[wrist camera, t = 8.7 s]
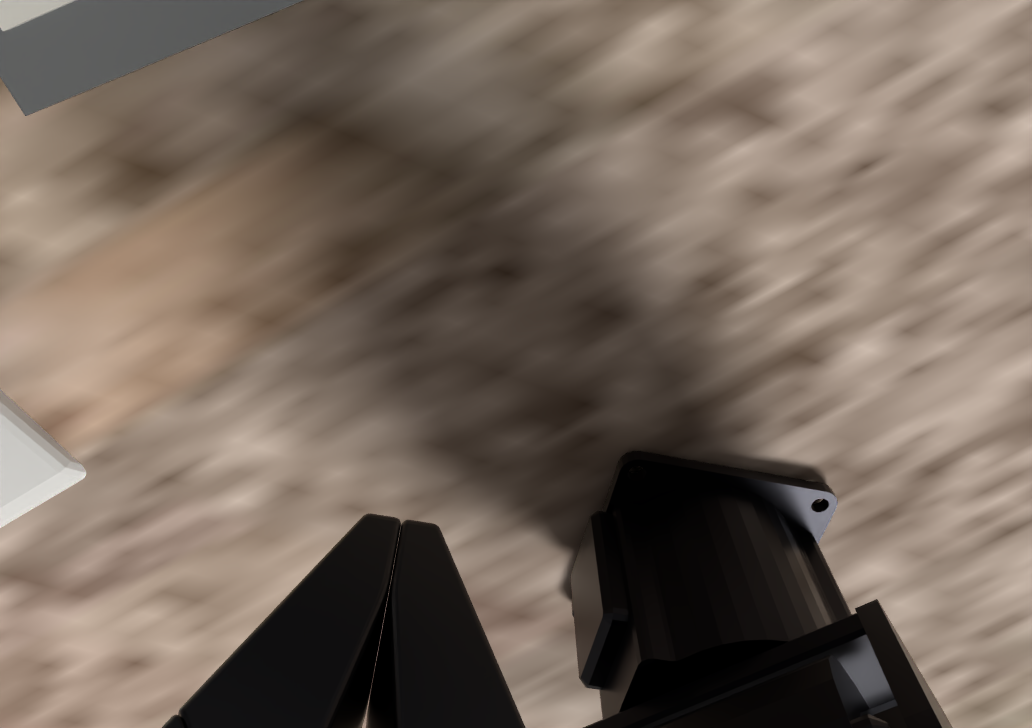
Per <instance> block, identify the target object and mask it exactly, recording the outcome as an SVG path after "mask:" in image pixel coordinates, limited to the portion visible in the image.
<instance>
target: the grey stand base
mask: <svg viewBox="0 0 1032 728" xmlns="http://www.w3.org/2000/svg"><path fill="white" fill-rule="evenodd" d="M301 1H304V0H0V77H1V79H2V80H3V82H4V84H5V85H6V87H7V88H8V90H9V91H10V93H11V94H12V96H13V98H14V99H15V101H16V102H17V104H18V105H19V107H20V108H21V110H22V112H23V113H24V115H25V116H27V115H30V114H32V113H34V112H37V111H39V110H42V109H44V108H47V107H49V106H52V105H54V104H56V103H59V102H61V101H64V100H66V99H69V98H71V97H73V96H76V95H78V94H81V93H83V92H85V91H88V90H90V89H93V88H95V87H97V86H100V85H102V84H105V83H107V82H109V81H112V80H114V79H117V78H119V77H121V76H124V75H126V74H129V73H131V72H133V71H136V70H138V69H141V68H143V67H145V66H148V65H150V64H153V63H155V62H157V61H160V60H162V59H165V58H167V57H169V56H172V55H174V54H177V53H179V52H181V51H184V50H186V49H189V48H191V47H193V46H196V45H198V44H201V43H203V42H205V41H208V40H210V39H213V38H215V37H217V36H220V35H222V34H225V33H227V32H229V31H232V30H234V29H237V28H239V27H241V26H244V25H246V24H249V23H251V22H253V21H256V20H258V19H261V18H263V17H265V16H268V15H270V14H273V13H275V12H277V11H280V10H282V9H285V8H287V7H289V6H292V5H294V4H297V3H299V2H301Z"/></svg>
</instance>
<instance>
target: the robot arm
mask: <svg viewBox="0 0 1032 728" xmlns="http://www.w3.org/2000/svg"><path fill="white" fill-rule="evenodd" d="M638 466H640V467H642V468H643V469H642V470H641V471H639V472H635V473H632V472H630V471H629V470H630V469H631V468H633V467H638ZM823 498H824V499H823ZM817 499H823V500H822V501H821V502H819V503H816V504H812V503H813V502H814V501H815V500H817ZM837 504H838V502H837V498H836V496H835V495H834V493H833V491H832V489H831V488H830V487H829V486H828V485H825V484H823V483H817V482H812V481H806V480H800V479H794V478H789V477H783V476H777V475H772V474H766V473H760V472H755V471H749V470H743V469H738V468H732V467H726V466H721V465H715V464H709V463H704V462H698V461H692V460H686V459H681V458H675V457H669V456H664V455H658V454H652V453H647V452H641V451H632V452H629V453H626V454H625V455H624V456H622V457H621V459H620V460H619V462H618V465H617V468H616V471H615V474H614V477H613V480H612V483H611V486H610V489H609V492H608V495H607V498H606V501H605V504H604V507H603V510H602V511H597V512H595V513H594V514H593V515H592V516H590V518H589V521H588V524H587V527H586V530H585V533H584V536H583V539H582V542H581V545H580V548H579V552H578V555H577V558H576V561H575V564H574V567H573V570H572V573H571V588H572V614H573V617H574V623H575V634H576V646H577V657H578V669H579V678H580V680H581V681H582V683H583V684H584V686H585V687H586V688H592V689H599V690H600V699H601V708H602V717H603V719H602V720H600V721H598V722H595V723H593V724H591V725H588V726H586V727H583V728H952V726H951V724H950V722H949V720H948V719H947V717H946V715H945V713H944V711H943V710H942V708H941V706H940V705H939V703H938V701H937V700H936V698H935V696H934V694H933V693H932V691H931V689H930V688H929V686H928V684H927V683H926V681H925V679H924V678H923V676H922V674H921V672H920V671H919V669H918V667H917V666H916V664H915V662H914V661H913V659H912V657H911V655H910V654H909V652H908V650H907V649H906V647H905V645H904V644H903V642H902V640H901V639H900V637H899V635H898V633H897V632H896V630H895V628H894V627H893V625H892V623H891V622H890V620H889V618H888V617H887V615H886V613H885V611H884V610H883V608H882V606H881V605H880V603H879V601H878V600H877V599H876V600H874V601H872V602H869V603H867V604H865V605H862V606H860V607H857V608H855V610H856V612H857V613H855V614H853V615H852V614H851V612H850V610H849V608H848V606H847V603H846V601H845V599H844V597H843V595H842V593H841V591H840V589H839V587H838V585H837V583H836V581H835V579H834V577H833V575H832V573H831V570H830V568H829V566H828V564H827V562H826V560H825V558H824V556H823V554H822V552H821V550H820V548H819V546H818V543H819V541H820V539H821V537H822V535H823V533H824V531H825V530H826V528H827V526H828V524H829V522H830V520H831V518H832V516H833V514H834V512H835V510H836V508H837ZM400 527H401V530H400ZM399 533H400V535H399ZM398 538H399V541H398ZM397 544H398V546H397ZM396 549H397V552H396ZM395 555H396V557H395ZM394 560H395V562H394ZM393 565H394V568H393ZM392 571H393V573H392ZM391 576H392V579H391ZM390 582H391V584H390ZM389 587H390V590H389ZM388 593H389V595H388ZM387 598H388V601H387ZM386 604H387V606H386ZM385 609H386V611H385ZM384 614H385V617H384ZM383 620H384V622H383ZM382 625H383V628H382ZM381 631H382V633H381ZM380 636H381V639H380ZM379 642H380V644H379ZM378 647H379V650H378ZM377 652H378V655H377ZM376 658H377V661H376ZM375 663H376V666H375ZM374 669H375V671H374ZM373 674H374V677H373ZM372 680H373V682H372ZM371 685H372V688H371ZM370 691H371V693H370ZM369 696H370V700H369ZM368 700H369V706H368V713H367V723H366V728H525V726H524V723H523V721H522V719H521V716H520V714H519V712H518V709H517V707H516V705H515V702H514V700H513V698H512V695H511V693H510V691H509V688H508V686H507V684H506V681H505V679H504V677H503V674H502V672H501V670H500V667H499V665H498V663H497V660H496V658H495V656H494V653H493V651H492V649H491V647H490V644H489V642H488V640H487V637H486V635H485V633H484V630H483V628H482V626H481V623H480V621H479V619H478V616H477V614H476V612H475V609H474V607H473V605H472V602H471V600H470V598H469V595H468V593H467V591H466V588H465V586H464V584H463V581H462V579H461V577H460V574H459V572H458V570H457V567H456V565H455V563H454V560H453V558H452V556H451V553H450V551H449V549H448V546H447V544H446V542H445V539H444V537H443V535H442V532H441V530H440V528H439V527H438V526H437V525H435V524H432V523H426V522H420V521H414V520H405V521H404V522H403V523H402V525H401V522H400V520H399V519H398V518H395V517H389V516H383V515H376V514H366V515H364V516H363V517H362V518H361V519H360V520H359V521H358V522H357V523H356V524H355V525H354V526H353V527H352V528H351V529H350V530H349V531H348V533H347V534H346V535H345V536H344V537H343V538H342V539H341V540H340V541H339V542H338V543H337V544H336V545H335V546H334V547H333V548H332V549H331V550H330V551H329V553H328V554H327V555H326V556H325V557H324V558H323V559H322V560H321V561H320V562H319V563H318V564H317V565H316V566H315V567H314V568H313V569H312V570H311V571H310V573H309V574H308V575H307V576H306V577H305V578H304V579H303V580H302V581H301V582H300V583H299V584H298V585H297V586H296V587H295V588H294V589H293V590H292V591H291V593H290V594H289V595H288V596H287V597H286V598H285V599H284V600H283V601H282V602H281V603H280V604H279V605H278V606H277V607H276V608H275V609H274V610H273V611H272V613H271V614H270V615H269V616H268V617H267V618H266V619H265V620H264V621H263V622H262V623H261V624H260V625H259V626H258V627H257V628H256V629H255V630H254V631H253V633H252V634H251V635H250V636H249V637H248V638H247V639H246V640H245V641H244V642H243V643H242V644H241V645H240V646H239V647H238V648H237V649H236V650H235V651H234V652H233V654H232V655H231V656H230V657H229V658H228V659H227V660H226V661H225V662H224V663H223V664H222V665H221V666H220V667H219V668H218V669H217V670H216V671H215V672H214V674H213V675H212V676H211V677H210V678H209V679H208V680H207V681H206V682H205V683H204V684H203V685H202V686H201V687H200V688H199V689H198V690H197V691H196V692H195V694H194V695H193V696H192V697H191V698H190V699H189V700H188V701H187V702H186V703H185V704H184V705H183V706H182V707H181V708H180V710H179V715H174V716H172V717H171V718H170V719H169V720H168V721H167V722H166V724H165V725H164V726H163V727H162V728H362V725H363V721H364V718H365V714H366V710H367V705H368Z"/></svg>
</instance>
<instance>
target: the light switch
mask: <svg viewBox="0 0 1032 728" xmlns="http://www.w3.org/2000/svg"><path fill="white" fill-rule="evenodd" d="M85 475H86V471H85V469H84V468H83V466H82V465H81V464H80V463H79V462H78V461H77V460H76V459H75V458H74V457H73V456H72V455H71V454H70V453H69V452H67V451H66V450H65V449H64V448H63V447H62V446H61V445H60V444H59V443H58V442H57V441H56V440H55V439H54V438H52V437H51V436H50V435H49V434H48V433H47V432H46V431H45V430H44V429H43V428H42V427H41V426H40V425H39V424H37V423H36V422H35V421H34V420H33V419H32V418H31V417H30V416H29V415H28V414H27V413H26V412H25V411H23V410H22V409H21V408H20V407H19V406H18V405H17V404H16V403H15V402H14V401H13V400H12V399H11V398H10V397H8V396H7V395H6V394H5V393H4V392H3V391H2V390H1V389H0V528H1V527H3V526H4V525H6V524H8V523H9V522H11V521H13V520H14V519H16V518H18V517H20V516H21V515H23V514H25V513H26V512H28V511H30V510H31V509H33V508H35V507H36V506H38V505H40V504H42V503H43V502H45V501H47V500H48V499H50V498H52V497H53V496H55V495H57V494H58V493H60V492H62V491H64V490H65V489H67V488H69V487H70V486H72V485H74V484H75V483H77V482H79V481H81V480H82V479H84V478H85Z"/></svg>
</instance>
